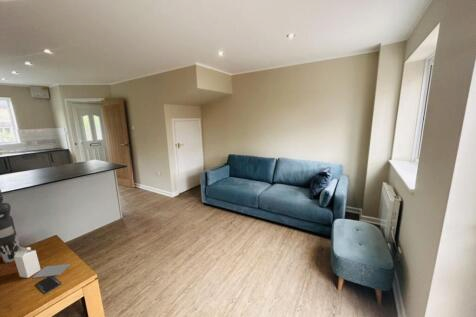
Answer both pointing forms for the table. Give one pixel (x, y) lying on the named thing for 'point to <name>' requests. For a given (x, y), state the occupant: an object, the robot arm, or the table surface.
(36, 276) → the mat
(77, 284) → the table surface
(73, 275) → the table surface
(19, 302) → the table surface
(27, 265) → the milk carton
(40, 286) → the phone
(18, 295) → the table surface
